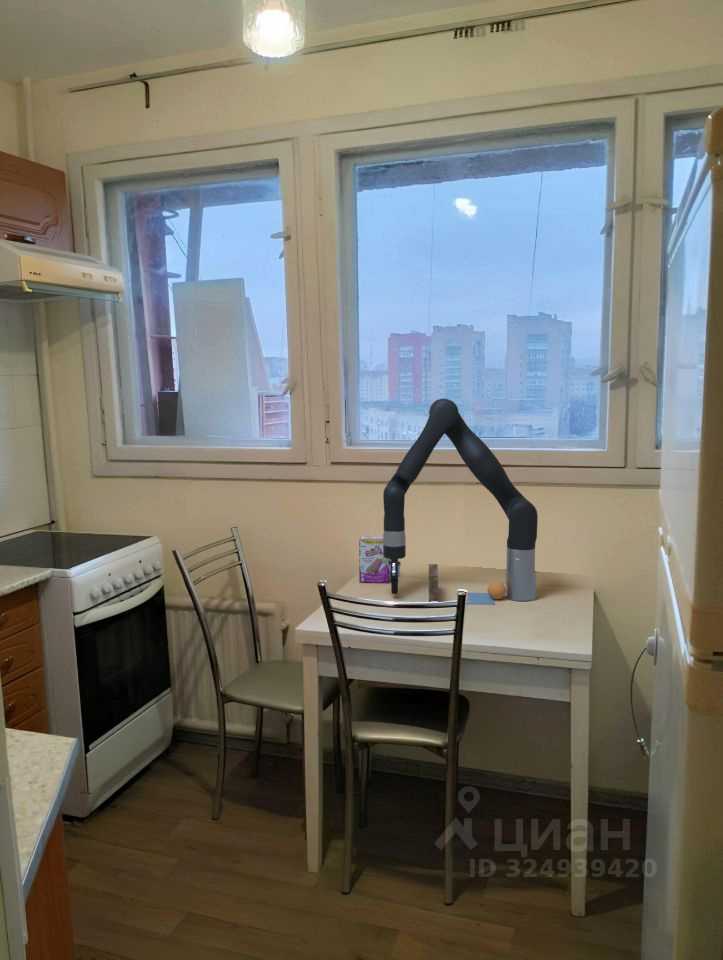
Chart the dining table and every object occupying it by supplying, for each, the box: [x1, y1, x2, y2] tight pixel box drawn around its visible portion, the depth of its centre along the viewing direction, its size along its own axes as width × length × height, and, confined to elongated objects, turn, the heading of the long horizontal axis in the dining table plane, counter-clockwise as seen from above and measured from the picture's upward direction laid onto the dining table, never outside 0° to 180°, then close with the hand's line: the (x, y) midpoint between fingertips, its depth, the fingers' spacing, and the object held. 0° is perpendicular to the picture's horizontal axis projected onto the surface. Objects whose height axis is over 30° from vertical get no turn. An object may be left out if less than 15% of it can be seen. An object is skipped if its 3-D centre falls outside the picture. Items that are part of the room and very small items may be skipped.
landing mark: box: [466, 592, 496, 605], centre depth 236 cm, size 12×12×1 cm
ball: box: [487, 580, 506, 600], centre depth 235 cm, size 6×6×6 cm
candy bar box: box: [358, 536, 391, 584], centre depth 257 cm, size 11×5×16 cm, turn 84°
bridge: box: [428, 563, 439, 603], centre depth 237 cm, size 3×15×10 cm, turn 175°
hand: (394, 593), depth 238 cm, fingers closed
